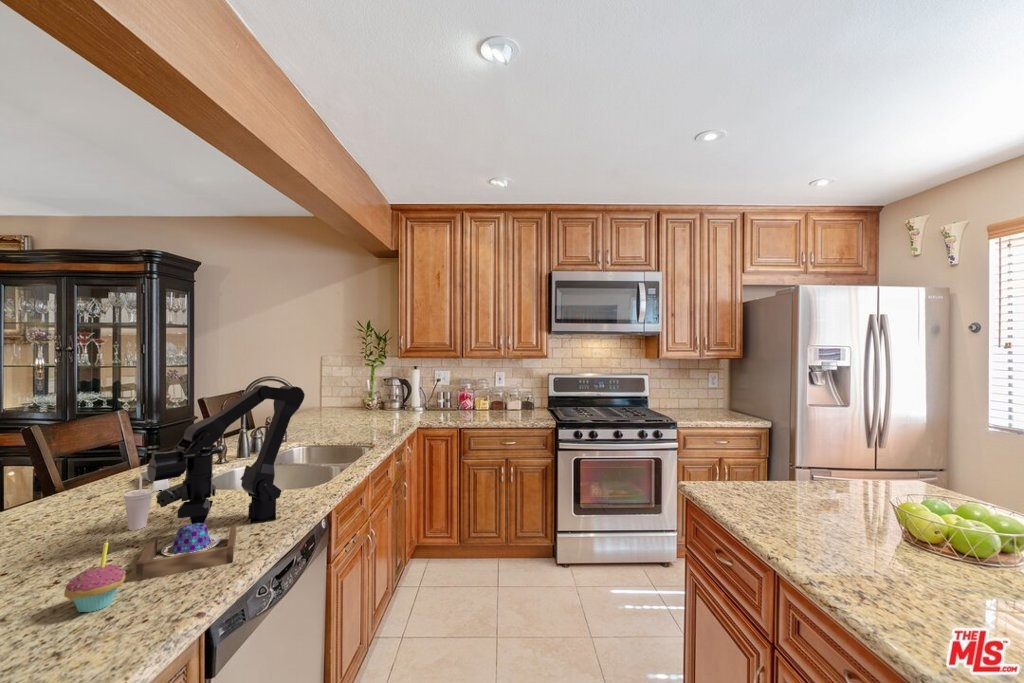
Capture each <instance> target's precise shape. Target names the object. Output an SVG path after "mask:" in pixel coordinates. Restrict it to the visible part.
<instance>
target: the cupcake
mask: <svg viewBox="0 0 1024 683" xmlns="http://www.w3.org/2000/svg"><path fill="white" fill-rule="evenodd" d="M108 540H109V538H108V537H107V538H106V540H105V542H104V543H103V547H102V554H101V558H100V559H101V560H100V565H99V566H95V567H94V566H91V567H89V568H86V569H85V570H83V571H81V572H80V573H78V574H77V575H76V576H74V577H73V578H71V579H69V581H68V583H67V584H66V586H65V589H64V597H65V598H67V599H70V600H72V601H73V602H74V605H75V606H76V610H77V611H79V613H80V612H89V613H92V612H91V611H94V612H97V611H100V610H103V609H105V608H106V606H107V607H108V606H109V604H110V603H111V602H113V600H114V598H115V595H116V593H117V590H118V588H119V587H121V586H122V584H123V583H124V581H125V580H126V571H125V569H123V567H121V566H118V565H112V564H106V561H107V554H108V547H109V542H108ZM111 604H112V603H111ZM111 604H110V605H111ZM104 607H105V608H104ZM102 608H103V609H102ZM99 609H100V610H99ZM96 610H97V611H96Z"/></svg>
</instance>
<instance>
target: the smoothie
mask: <svg viewBox="0 0 1024 683" xmlns="http://www.w3.org/2000/svg"><path fill="white" fill-rule="evenodd" d="M138 480H139V482H138V484H139V486H138V489H136V490H131V491H127V492H125V493H124V494H123V496H122V499H123V500H124V506H125V512H126V520H127V528H128V529H129V530H135V531H137V530H136V529H140V530H142V529H141V528H143V527H145V528H147V524H148V519H149V512H150V509H151V508H150V507H151V502H152V497H153V495H154V493H155V492H153V490H152V488H143V477H142V476H139V479H138ZM143 529H144V528H143ZM129 530H128V531H129Z"/></svg>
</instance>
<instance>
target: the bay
mask: <svg viewBox="0 0 1024 683" xmlns="http://www.w3.org/2000/svg"><path fill="white" fill-rule="evenodd" d="M229 528H230V529H229V534H228V540H227V545H226V546H222V547H217V548H216V547H215V548H210V549H207V550H205V549H203V550H204V551H202V550H200V551H199V550H197V551H195V552H192V553H182V554H174V555H175V556H165V557H159V558H155V557H156V555H157V553H156V552H158V540H159V536H153V537H152V536H151V537H150V539H149V542H148V543H147V545H146V546H145V548H144V549H143V551H142V553H141V555H140V557H139V559H138V560H137V562H136V563H135V577H134V579H135V580H139V581H141V580H140V579H144V580H148V579H147V578H150V579H153V578H152V577H155V578H158V577H157V576H160V577H164V575H165V576H169V574H171V575H174V573H176V574H180V573H179V572H181V573H185V572H184V571H186V572H190V571H189V570H192V571H195V570H194V569H197V570H200V568H202V569H206V568H205V567H207V568H211V567H210V566H213V567H216V566H215V565H218V566H222V565H221V564H223V565H228V564H232V562H233V563H234V555H235V554H234V553H235V548H236V547H235V546H236V541H237V540H236V539H237V524H231V525H230V527H229ZM155 554H156V555H155ZM154 556H155V557H154ZM153 558H154V559H153ZM227 563H228V564H227ZM135 580H134V581H135Z"/></svg>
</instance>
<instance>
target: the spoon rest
mask: <svg viewBox="0 0 1024 683" xmlns="http://www.w3.org/2000/svg"><path fill="white" fill-rule="evenodd" d="M140 475H141V476H142V479H144V480H147V481H149V478H148V473H147V469H146V470H143V471H140ZM141 476H140V477H141ZM169 484H170V483H169V480H168V479H165V480H159V481H154V482H152V486H151V489H152V490H153V491H158V490H165V489H168V488H170V485H169ZM158 492H159V491H158Z"/></svg>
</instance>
